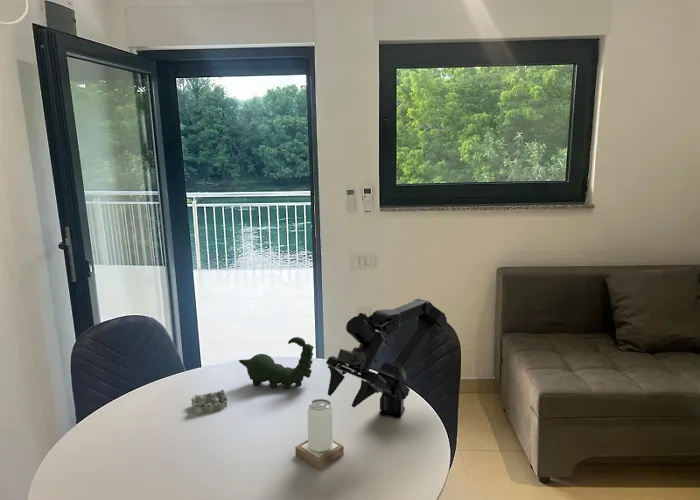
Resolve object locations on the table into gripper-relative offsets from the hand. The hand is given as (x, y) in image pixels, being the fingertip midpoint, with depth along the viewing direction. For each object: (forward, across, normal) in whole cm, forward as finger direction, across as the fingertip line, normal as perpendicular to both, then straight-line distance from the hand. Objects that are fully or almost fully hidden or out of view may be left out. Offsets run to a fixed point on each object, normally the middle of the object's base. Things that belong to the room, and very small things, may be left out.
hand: (340, 400), depth 138 cm
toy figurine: (+3, -40, +15) cm, 43 cm away
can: (+13, 0, +2) cm, 13 cm away
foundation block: (+14, 0, +3) cm, 15 cm away
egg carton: (+20, -44, -1) cm, 48 cm away
